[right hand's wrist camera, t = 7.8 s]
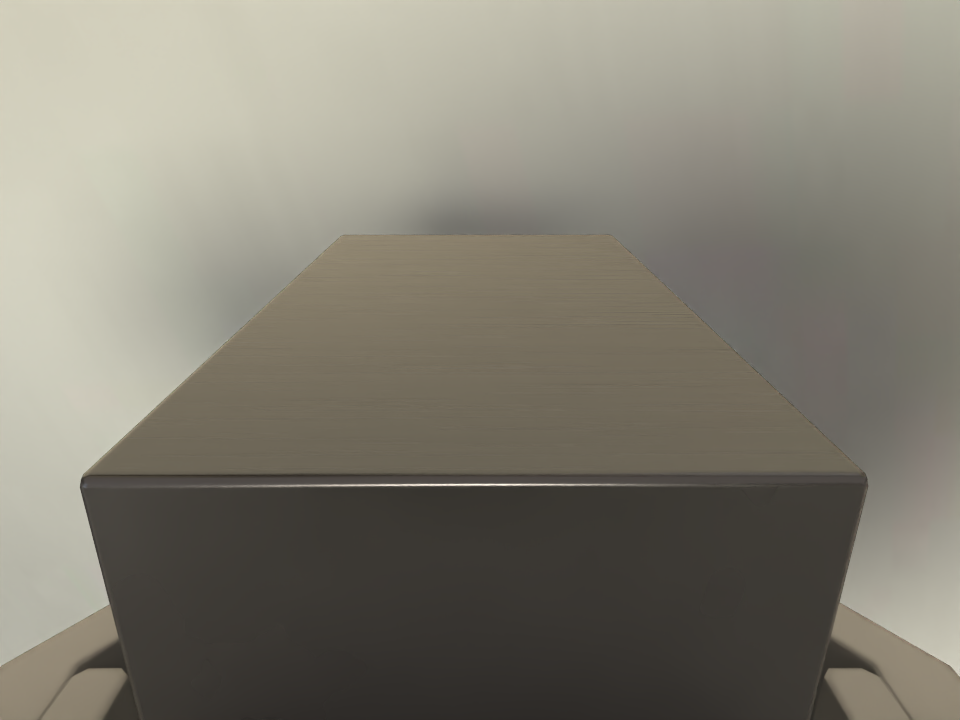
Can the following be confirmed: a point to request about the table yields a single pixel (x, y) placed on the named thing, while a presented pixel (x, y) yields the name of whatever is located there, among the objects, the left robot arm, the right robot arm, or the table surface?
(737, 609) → the bar
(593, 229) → the table surface
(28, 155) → the table surface
